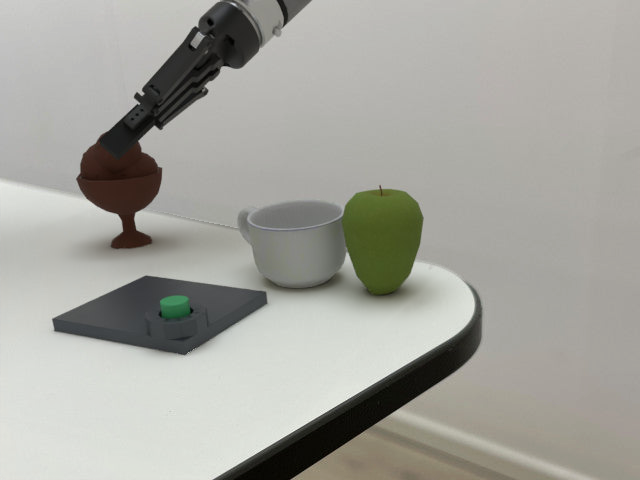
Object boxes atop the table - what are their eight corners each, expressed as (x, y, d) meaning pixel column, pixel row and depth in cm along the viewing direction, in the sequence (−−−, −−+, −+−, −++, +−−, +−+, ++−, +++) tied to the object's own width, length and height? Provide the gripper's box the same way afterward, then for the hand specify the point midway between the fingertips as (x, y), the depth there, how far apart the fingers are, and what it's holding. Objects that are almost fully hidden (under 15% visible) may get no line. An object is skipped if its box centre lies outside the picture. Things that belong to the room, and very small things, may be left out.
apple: (397, 311, 77) (396, 197, 72) (328, 298, 81) (322, 189, 76) (437, 285, 84) (438, 179, 79) (371, 274, 88) (368, 173, 83)
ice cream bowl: (188, 235, 106) (173, 123, 100) (135, 259, 97) (115, 137, 91) (128, 229, 110) (110, 121, 104) (72, 251, 101) (48, 134, 95)
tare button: (156, 318, 70) (153, 303, 70) (174, 309, 72) (171, 293, 72) (179, 322, 69) (176, 306, 69) (196, 312, 71) (194, 297, 71)
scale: (52, 332, 75) (46, 304, 74) (147, 286, 87) (143, 261, 86) (185, 357, 69) (181, 326, 67) (269, 304, 80) (267, 277, 79)
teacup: (368, 277, 87) (365, 207, 83) (294, 303, 80) (288, 229, 77) (290, 254, 96) (284, 191, 93) (218, 276, 89) (209, 208, 86)
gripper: (268, 15, 91) (129, 147, 84) (257, 73, 103) (136, 192, 97) (219, -29, 90) (76, 101, 84) (214, 35, 103) (89, 152, 96)
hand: (108, 150), depth 90 cm, fingers closed
